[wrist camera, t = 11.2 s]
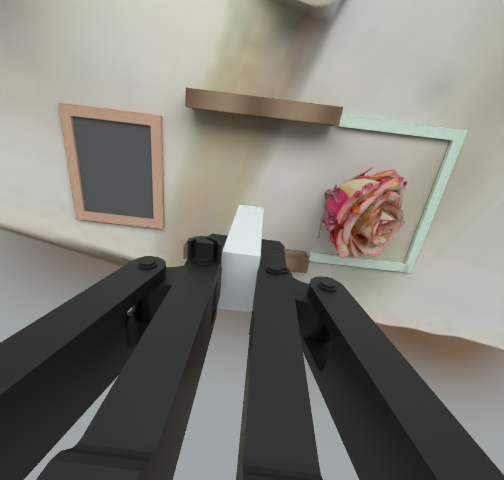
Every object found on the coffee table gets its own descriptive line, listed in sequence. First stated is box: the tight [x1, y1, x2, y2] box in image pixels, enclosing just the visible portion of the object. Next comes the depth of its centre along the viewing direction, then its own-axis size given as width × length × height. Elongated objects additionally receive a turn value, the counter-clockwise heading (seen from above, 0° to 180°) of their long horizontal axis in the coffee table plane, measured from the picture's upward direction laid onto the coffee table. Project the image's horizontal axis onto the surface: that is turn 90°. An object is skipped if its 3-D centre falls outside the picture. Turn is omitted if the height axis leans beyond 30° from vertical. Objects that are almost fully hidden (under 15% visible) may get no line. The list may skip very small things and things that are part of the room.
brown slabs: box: [184, 88, 343, 273], centre depth 28 cm, size 14×17×2 cm
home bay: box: [308, 115, 467, 273], centre depth 29 cm, size 12×16×1 cm
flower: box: [318, 167, 407, 259], centre depth 27 cm, size 10×9×8 cm
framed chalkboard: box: [58, 103, 164, 229], centre depth 29 cm, size 10×12×1 cm
